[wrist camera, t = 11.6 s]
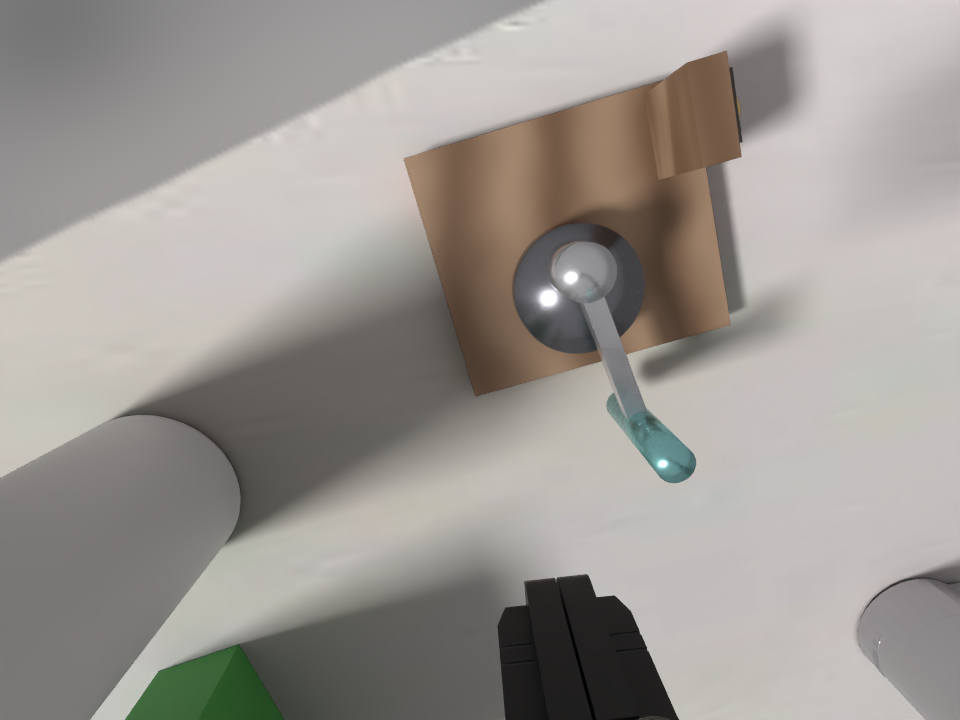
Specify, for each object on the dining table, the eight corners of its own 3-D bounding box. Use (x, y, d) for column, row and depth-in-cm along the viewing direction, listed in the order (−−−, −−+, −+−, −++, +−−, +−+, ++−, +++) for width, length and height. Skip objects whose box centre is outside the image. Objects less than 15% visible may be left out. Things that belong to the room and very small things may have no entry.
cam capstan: (492, 255, 32) (505, 265, 22) (609, 202, 31) (674, 189, 22) (568, 434, 35) (608, 511, 25) (675, 389, 35) (757, 451, 25)
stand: (684, 79, 32) (755, 30, 24) (723, 317, 36) (794, 341, 28) (407, 162, 33) (389, 141, 25) (474, 387, 36) (477, 429, 29)
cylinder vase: (55, 525, 38) (-649, 1032, 14) (100, 383, 36) (-674, 708, 11) (214, 582, 40) (-170, 1124, 16) (268, 451, 37) (-95, 859, 13)
